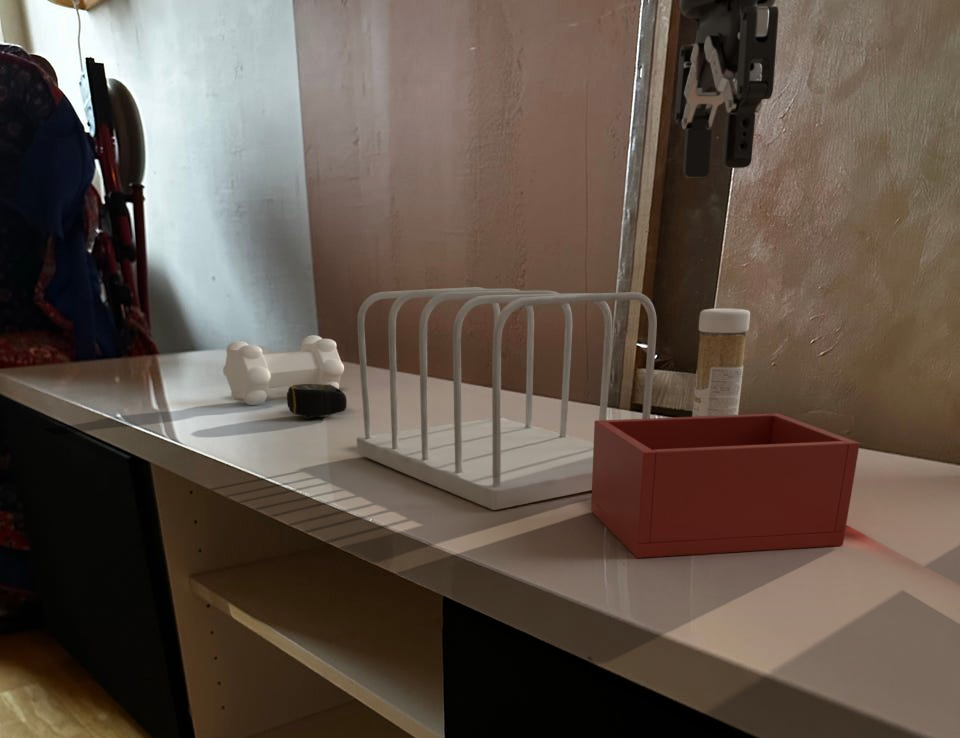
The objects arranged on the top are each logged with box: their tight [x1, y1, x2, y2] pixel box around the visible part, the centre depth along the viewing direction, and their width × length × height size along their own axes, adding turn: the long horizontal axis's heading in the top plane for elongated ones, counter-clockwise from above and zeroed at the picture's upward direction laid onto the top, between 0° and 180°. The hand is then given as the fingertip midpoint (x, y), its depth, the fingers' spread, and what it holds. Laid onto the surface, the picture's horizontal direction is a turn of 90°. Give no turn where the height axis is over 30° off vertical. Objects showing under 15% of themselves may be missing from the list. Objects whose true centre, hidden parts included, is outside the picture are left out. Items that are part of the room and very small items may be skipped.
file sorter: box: [356, 286, 658, 511], centre depth 78 cm, size 25×17×16 cm
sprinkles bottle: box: [691, 307, 751, 417], centre depth 84 cm, size 5×5×14 cm
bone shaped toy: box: [222, 334, 345, 406], centre depth 121 cm, size 15×9×8 cm, turn 132°
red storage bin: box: [590, 412, 861, 559], centre depth 62 cm, size 15×12×7 cm
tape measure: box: [286, 384, 348, 420], centre depth 108 cm, size 7×7×4 cm
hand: (714, 172), depth 74 cm, fingers open, 8 cm apart
